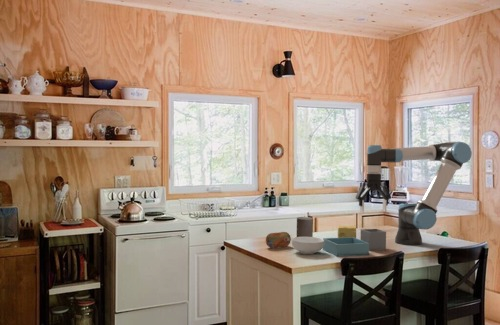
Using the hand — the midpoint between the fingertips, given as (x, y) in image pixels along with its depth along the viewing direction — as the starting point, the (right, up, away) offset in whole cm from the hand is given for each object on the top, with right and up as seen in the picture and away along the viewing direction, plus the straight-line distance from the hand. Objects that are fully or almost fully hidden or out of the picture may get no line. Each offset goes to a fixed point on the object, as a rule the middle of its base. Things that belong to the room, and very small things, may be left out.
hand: (373, 211), depth 265 cm
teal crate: (-17, -20, -9) cm, 28 cm away
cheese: (-12, -20, +14) cm, 27 cm away
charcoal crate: (0, -20, +1) cm, 20 cm away
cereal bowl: (-37, -21, -11) cm, 44 cm away
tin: (-52, -20, +3) cm, 56 cm away
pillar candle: (-35, -20, +21) cm, 46 cm away
